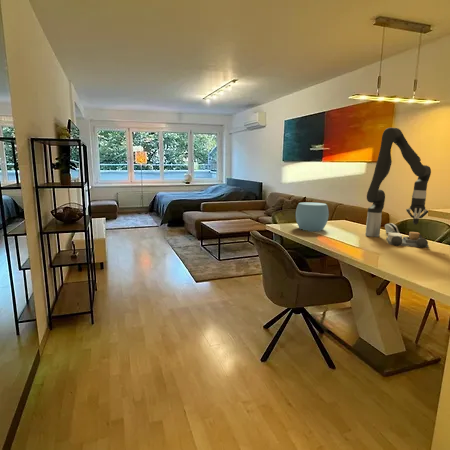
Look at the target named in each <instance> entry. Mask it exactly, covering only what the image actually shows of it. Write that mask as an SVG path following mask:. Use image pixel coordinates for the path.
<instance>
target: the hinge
mask: <svg viewBox="0 0 450 450" xmlns="http://www.w3.org/2000/svg"><path fill="white" fill-rule="evenodd" d="M384 228H385V229H384V230H385V233H386V234H387V233H388V232H390V231H395V232H397V233H400V231H399V228H398V226H397V225H396V224H394V223H392V222H389V223H386V224H384Z"/></svg>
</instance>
